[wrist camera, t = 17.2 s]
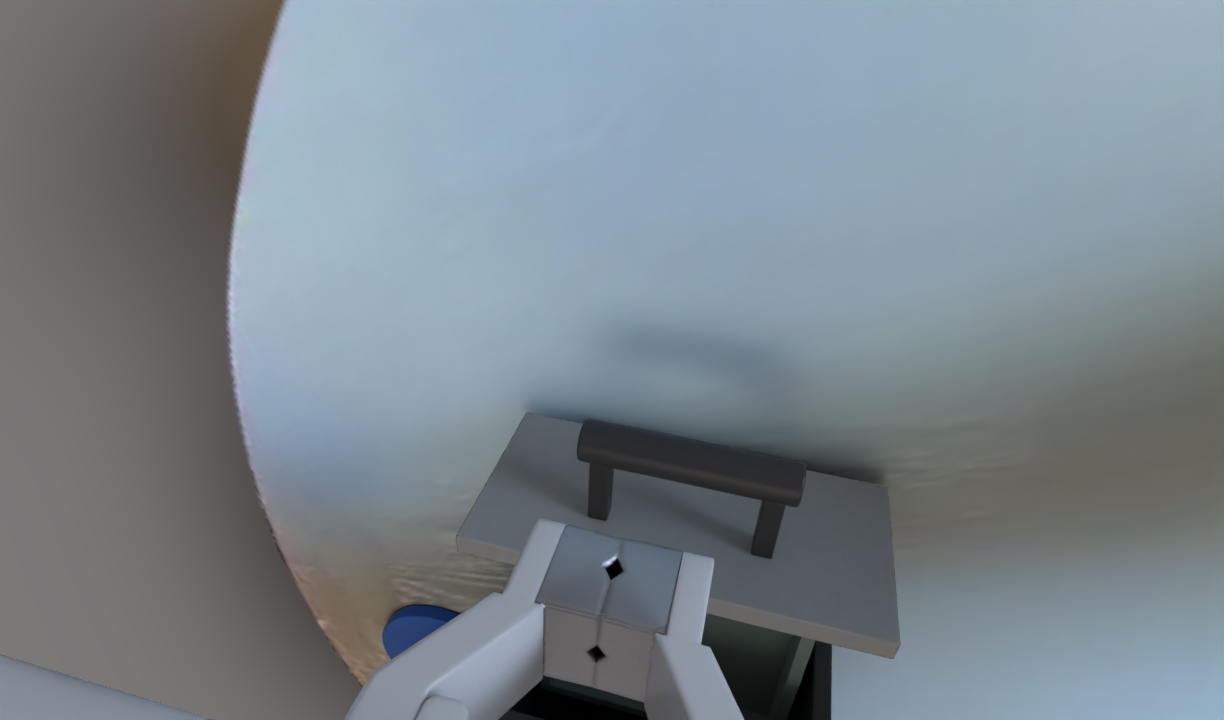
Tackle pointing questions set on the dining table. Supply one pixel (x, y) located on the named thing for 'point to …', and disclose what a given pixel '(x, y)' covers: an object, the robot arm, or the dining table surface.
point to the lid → (413, 626)
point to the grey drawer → (710, 543)
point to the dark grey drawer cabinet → (805, 715)
